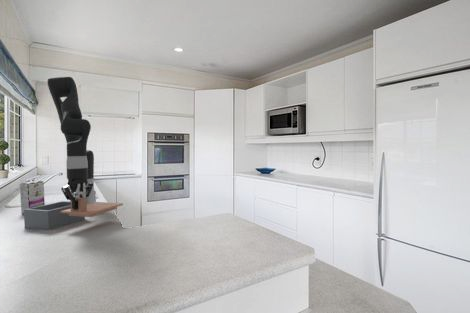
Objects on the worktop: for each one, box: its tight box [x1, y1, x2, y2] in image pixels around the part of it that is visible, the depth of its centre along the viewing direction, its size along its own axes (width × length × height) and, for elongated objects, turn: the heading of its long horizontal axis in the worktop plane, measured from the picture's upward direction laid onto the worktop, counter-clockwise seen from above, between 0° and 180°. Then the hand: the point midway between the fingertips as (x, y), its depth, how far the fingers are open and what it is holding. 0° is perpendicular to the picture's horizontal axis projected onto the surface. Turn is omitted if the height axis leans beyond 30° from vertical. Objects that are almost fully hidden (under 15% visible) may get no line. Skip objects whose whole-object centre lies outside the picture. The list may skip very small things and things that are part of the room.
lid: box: [61, 197, 124, 218], centre depth 116 cm, size 19×15×8 cm
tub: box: [23, 200, 86, 231], centre depth 120 cm, size 18×14×8 cm
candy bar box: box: [19, 180, 46, 215], centre depth 145 cm, size 11×5×16 cm, turn 179°
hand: (78, 208), depth 108 cm, fingers closed on lid, 2 cm apart
